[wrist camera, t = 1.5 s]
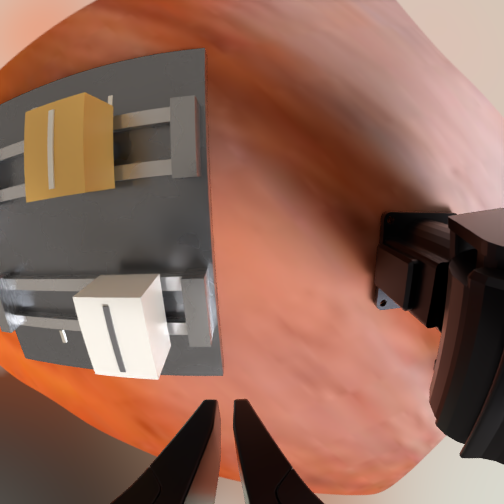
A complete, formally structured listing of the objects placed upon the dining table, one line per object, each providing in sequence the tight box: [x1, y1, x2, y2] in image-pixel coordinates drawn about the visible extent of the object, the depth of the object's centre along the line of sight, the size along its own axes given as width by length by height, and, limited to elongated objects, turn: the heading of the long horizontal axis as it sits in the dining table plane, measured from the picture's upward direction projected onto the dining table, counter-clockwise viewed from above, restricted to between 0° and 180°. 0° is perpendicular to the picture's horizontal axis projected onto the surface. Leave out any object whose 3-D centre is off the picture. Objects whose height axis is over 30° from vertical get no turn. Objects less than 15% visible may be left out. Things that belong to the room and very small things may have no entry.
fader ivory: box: [73, 274, 171, 380], centre depth 14 cm, size 4×4×5 cm
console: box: [0, 48, 224, 376], centre depth 15 cm, size 17×20×3 cm
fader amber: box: [24, 92, 115, 203], centre depth 12 cm, size 4×4×5 cm
